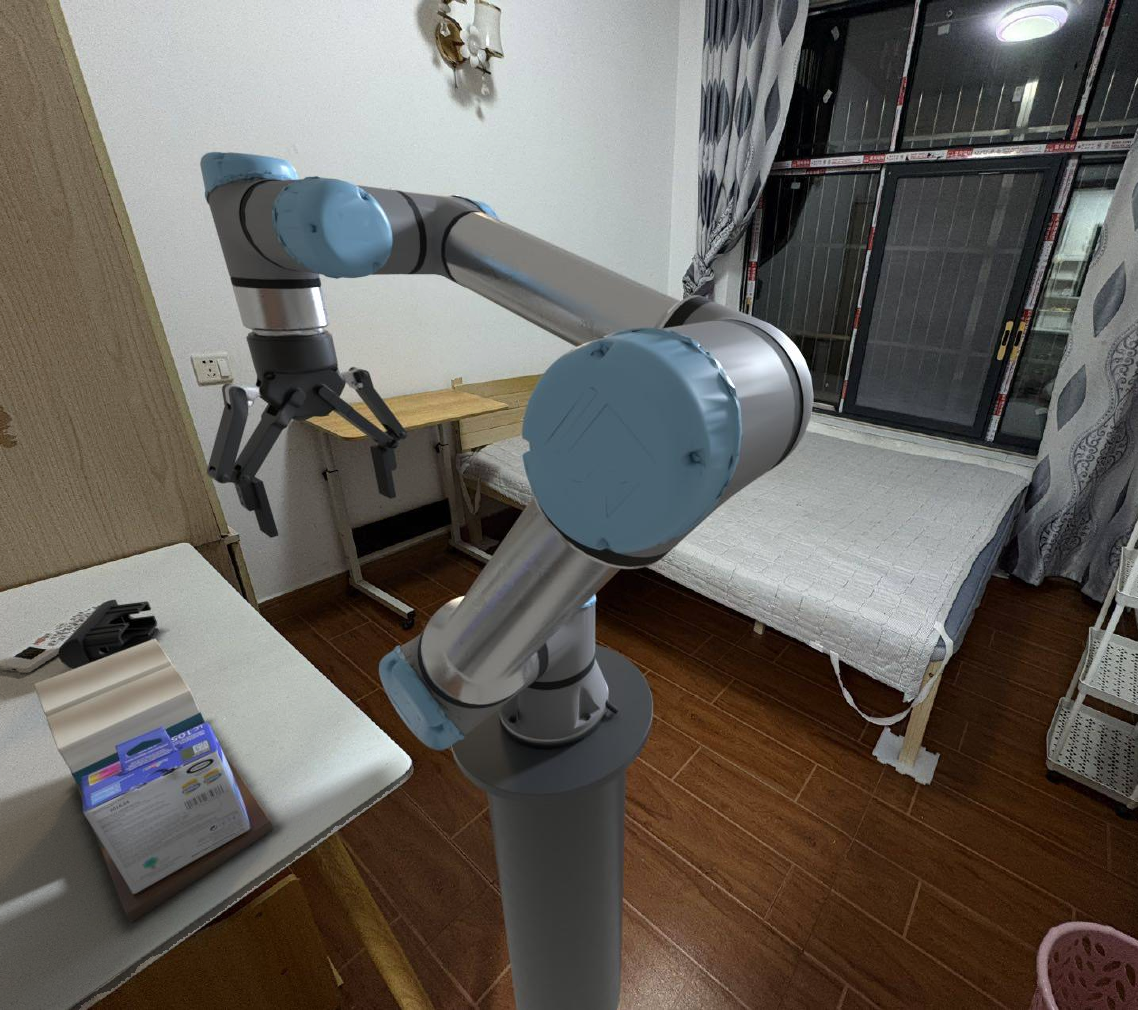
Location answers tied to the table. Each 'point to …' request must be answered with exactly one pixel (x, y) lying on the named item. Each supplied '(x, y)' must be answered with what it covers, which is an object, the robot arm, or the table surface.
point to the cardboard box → (120, 713)
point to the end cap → (108, 633)
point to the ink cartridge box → (164, 804)
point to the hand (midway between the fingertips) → (333, 512)
